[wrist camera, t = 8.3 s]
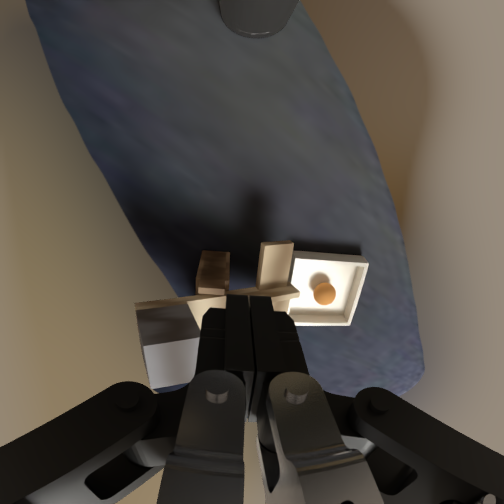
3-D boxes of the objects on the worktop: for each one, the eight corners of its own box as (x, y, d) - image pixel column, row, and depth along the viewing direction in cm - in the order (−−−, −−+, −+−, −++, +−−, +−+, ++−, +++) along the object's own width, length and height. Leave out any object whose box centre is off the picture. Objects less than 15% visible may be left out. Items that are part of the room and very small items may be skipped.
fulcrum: (200, 305, 46) (194, 349, 37) (202, 250, 43) (193, 286, 33) (225, 307, 47) (224, 351, 37) (229, 252, 43) (229, 289, 33)
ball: (320, 276, 46) (312, 284, 43) (341, 283, 44) (334, 292, 41) (316, 295, 47) (307, 304, 44) (335, 302, 45) (328, 312, 43)
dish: (291, 250, 43) (295, 258, 41) (362, 255, 44) (369, 263, 42) (280, 314, 48) (282, 325, 45) (344, 316, 49) (349, 325, 46)
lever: (141, 349, 33) (151, 390, 28) (129, 253, 28) (135, 288, 23) (281, 323, 42) (307, 353, 36) (296, 239, 37) (331, 263, 31)
